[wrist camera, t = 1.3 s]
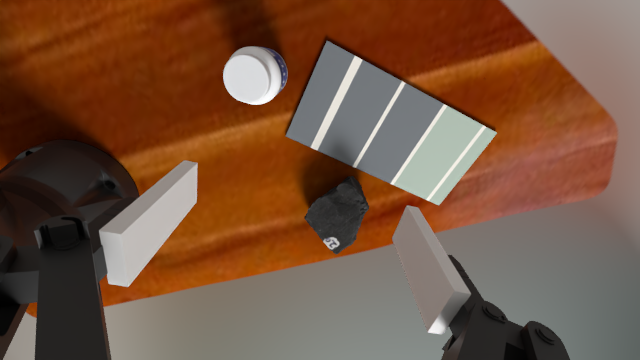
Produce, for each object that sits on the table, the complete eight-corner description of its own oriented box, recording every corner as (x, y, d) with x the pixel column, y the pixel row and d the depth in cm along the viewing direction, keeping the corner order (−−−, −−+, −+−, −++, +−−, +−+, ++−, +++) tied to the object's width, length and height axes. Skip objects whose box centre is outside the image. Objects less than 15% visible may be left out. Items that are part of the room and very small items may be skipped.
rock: (384, 215, 39) (394, 239, 34) (337, 242, 42) (339, 269, 37) (346, 165, 36) (349, 183, 31) (297, 198, 38) (292, 220, 33)
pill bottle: (284, 100, 32) (271, 116, 24) (241, 90, 31) (213, 104, 24) (291, 52, 30) (280, 54, 22) (245, 41, 29) (216, 39, 21)
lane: (285, 135, 34) (285, 136, 34) (326, 40, 29) (326, 40, 29) (437, 204, 38) (438, 205, 38) (495, 131, 33) (497, 132, 33)
